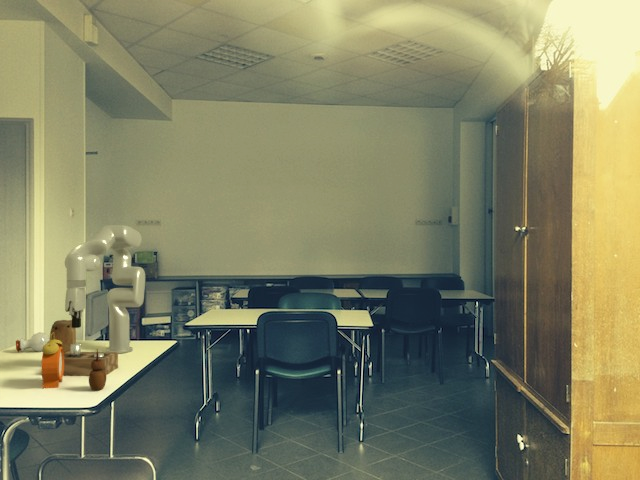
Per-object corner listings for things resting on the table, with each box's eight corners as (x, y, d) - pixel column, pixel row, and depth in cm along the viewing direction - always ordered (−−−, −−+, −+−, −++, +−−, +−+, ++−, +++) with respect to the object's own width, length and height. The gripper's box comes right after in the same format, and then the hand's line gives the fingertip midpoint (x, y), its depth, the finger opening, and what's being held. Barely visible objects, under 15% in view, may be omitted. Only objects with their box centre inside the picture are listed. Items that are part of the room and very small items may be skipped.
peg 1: (73, 359, 233) (73, 342, 233) (82, 359, 233) (82, 343, 233) (68, 361, 229) (68, 344, 229) (78, 361, 229) (78, 344, 229)
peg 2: (96, 369, 233) (96, 353, 233) (105, 369, 233) (105, 353, 233) (92, 371, 229) (92, 355, 229) (101, 371, 229) (101, 355, 229)
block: (76, 362, 248) (76, 319, 248) (74, 366, 241) (74, 321, 241) (50, 364, 245) (50, 320, 244) (47, 368, 237) (47, 322, 237)
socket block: (68, 367, 240) (68, 351, 240) (117, 367, 239) (117, 351, 239) (52, 375, 226) (52, 358, 226) (105, 375, 225) (104, 358, 225)
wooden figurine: (92, 386, 209) (92, 348, 209) (108, 386, 210) (108, 347, 210) (86, 392, 203) (86, 351, 202) (102, 391, 203) (102, 351, 203)
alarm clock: (58, 388, 207) (58, 336, 207) (40, 389, 205) (40, 337, 205) (64, 379, 220) (64, 330, 219) (47, 380, 218) (47, 330, 218)
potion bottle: (51, 353, 272) (18, 359, 268) (53, 339, 280) (20, 344, 275) (47, 341, 267) (13, 346, 263) (49, 326, 274) (16, 332, 270)
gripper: (75, 282, 238) (75, 324, 239) (58, 286, 224) (59, 330, 224) (92, 282, 238) (92, 324, 239) (77, 286, 224) (77, 330, 224)
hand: (76, 327), depth 231 cm, fingers closed
